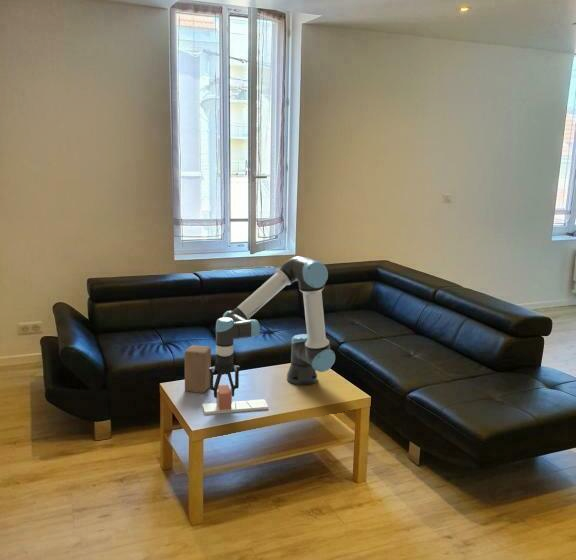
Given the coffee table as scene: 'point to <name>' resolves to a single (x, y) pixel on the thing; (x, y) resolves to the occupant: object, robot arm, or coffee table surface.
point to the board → (237, 406)
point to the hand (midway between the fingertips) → (223, 403)
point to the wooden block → (197, 368)
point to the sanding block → (224, 398)
